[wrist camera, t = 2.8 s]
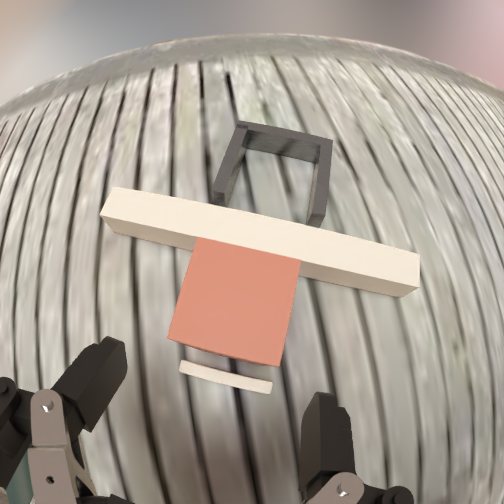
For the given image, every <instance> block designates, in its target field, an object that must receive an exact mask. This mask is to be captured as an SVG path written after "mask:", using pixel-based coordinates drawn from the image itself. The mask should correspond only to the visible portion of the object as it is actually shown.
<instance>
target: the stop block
mask: <svg viewBox="0 0 504 504" xmlns="http://www.w3.org/2000/svg"><path fill="white" fill-rule="evenodd" d="M300 262H301V260H300V259H295V258H291V257H287V256H282V255H278V254H273V253H269V252H265V251H260V250H256V249H251V248H247V247H242V246H238V245H234V244H229V243H225V242H220V241H216V240H211V239H207V238H202V237H198V238H197V241H196V244H195V247H194V250H193V253H192V256H191V259H190V263H189V266H188V269H187V272H186V275H185V278H184V282H183V285H182V288H181V291H180V295H179V298H178V301H177V305H176V308H175V311H174V315H173V318H172V322H171V325H170V329H169V332H168V336H167V338H168V339H171V340H173V341H176V342H179V343H182V344H184V345H187V346H190V347H193V348H196V349H199V350H202V351H206V352H209V353H213V354H217V355H221V356H225V357H229V358H233V359H237V360H241V361H245V362H250V363H254V364H259V365H264V366H277V367H279V365H280V361H281V357H282V352H283V348H284V343H285V338H286V334H287V329H288V324H289V319H290V315H291V310H292V305H293V300H294V295H295V289H296V284H297V279H298V273H299V268H300Z"/></svg>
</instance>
